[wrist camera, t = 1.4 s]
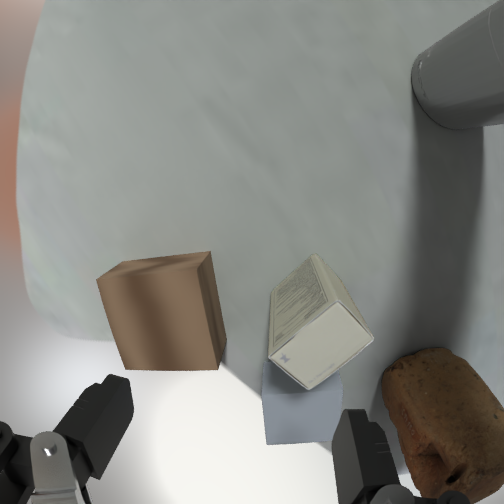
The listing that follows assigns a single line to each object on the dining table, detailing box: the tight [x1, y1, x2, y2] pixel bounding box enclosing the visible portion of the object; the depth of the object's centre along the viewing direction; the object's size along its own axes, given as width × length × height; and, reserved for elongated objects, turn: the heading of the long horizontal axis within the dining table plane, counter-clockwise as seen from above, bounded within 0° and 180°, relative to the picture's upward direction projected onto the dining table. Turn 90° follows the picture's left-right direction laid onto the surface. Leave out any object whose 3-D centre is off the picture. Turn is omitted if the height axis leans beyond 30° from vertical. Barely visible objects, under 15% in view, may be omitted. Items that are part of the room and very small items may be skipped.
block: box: [382, 348, 504, 504], centre depth 24 cm, size 11×8×20 cm
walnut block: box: [96, 251, 227, 371], centre depth 30 cm, size 10×10×6 cm
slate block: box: [261, 362, 343, 445], centre depth 32 cm, size 8×8×6 cm
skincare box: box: [268, 253, 374, 390], centre depth 25 cm, size 6×4×12 cm
